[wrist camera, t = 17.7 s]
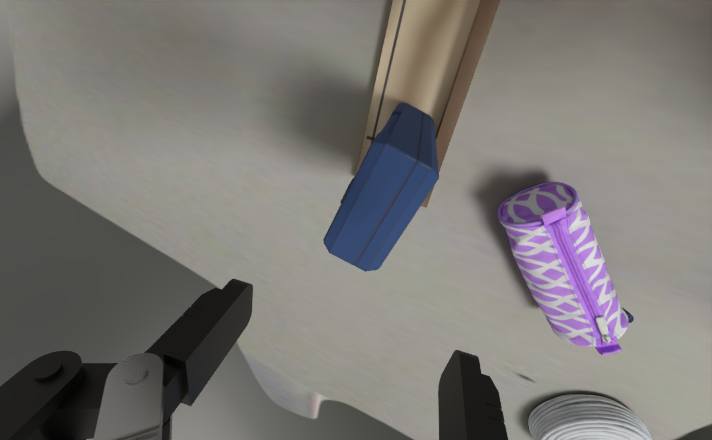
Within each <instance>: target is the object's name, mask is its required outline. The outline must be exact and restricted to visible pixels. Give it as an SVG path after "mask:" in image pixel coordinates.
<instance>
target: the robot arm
mask: <svg viewBox="0 0 712 440" xmlns="http://www.w3.org/2000/svg"><path fill="white" fill-rule="evenodd" d="M252 295H253V286H252V284H249V283H246V282H243V281H240V280H236V279H232V280H230V281H229V282H228V284H227V285H226V286H225V287H224V288H223V289H222V290H221V289H218V288H214V289H212V290H210V291H208V292H206V293H204V294H202V295H201V296H200V297H199V298H198V299H197V300H196V301H195V302H194V303H193V304H192V306H191V307H189V308H188V309H187V311H185V313H184V314H183V316H181V317H180V318H179V319H178V320H177V321H176V322H175V323H174V324H173V325H172V326H171V327H170V328H169V329H168V330H167V331H166V332H165V333H164V334H163V335H162V336H161V337H160V338H159V339H158V340H157V341H156V342H155V343H154V344H153V345H152V346H151V347H150V348H149V349H148V350H147V351H146V352H144V353H139V354H135V355H132V356H129V357H127V358H126V359H124V360H122V361H121V362H119V363H112V364H110V363H106V364H105V363H103V364H102V363H82V361H81V358H80V356H79V355H78V354H76V353H74V352H71V351H57V352H53V353H49V354H46V355H44V356H41V357H39V358H38V359H36V360H34V361H32V362H31V363H29V364H28V365H27V366H25V367H24V368H23V369H22V370H21V371H19V372H18V373H17V374H15V375H14V376H13V377H12V378H10V379H9V380H8V381H7V382H5V383H4V384H3V385H2V386H1V387H0V440H86V439H91V438H94V440H171V437H172V413H173V412H174V411H175V409H176V408H177V407H178V405H179V404H180V403H184V404H187V405H189V406H191V405H192V404H193V403H194V401H195V400H196V398H197V397H198V395H199V394H200V392H201V391H202V390H203V388H204V387H205V385H206V384H207V382H208V381H209V380H210V378H211V377H212V375H213V374H214V372H215V371H216V369H217V368H218V366H219V365H220V364H221V362H222V361H223V359H224V358H225V356H226V355H227V354H228V352H229V351H230V349H231V348H232V346H233V345H234V344H235V342H236V341H237V339H238V338H239V336H240V335H241V333H242V332H243V331H244V329H245V328H246V326H247V324H248V322H249V320H250V317H251V313H252ZM438 397H439V440H508V437H507V432H506V427H505V425H504V417H503V412H502V411H501V409H502V407H501V402H500V397H499V392H498V390H497V388H496V387H495V385H494V383H493V381H492V379H491V378H490V376H487V375H484V374H481V369H480V363H479V359H478V357H477V356H475V355H472V354H469V353H465V352H462V351H459V350H455V351H454V353H453V355H452V356H451V358H450V360H449V362H448V364H447V366H446V367H445V369H444V371H443V373H442V375H441V378H440V382H439V390H438Z"/></svg>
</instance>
